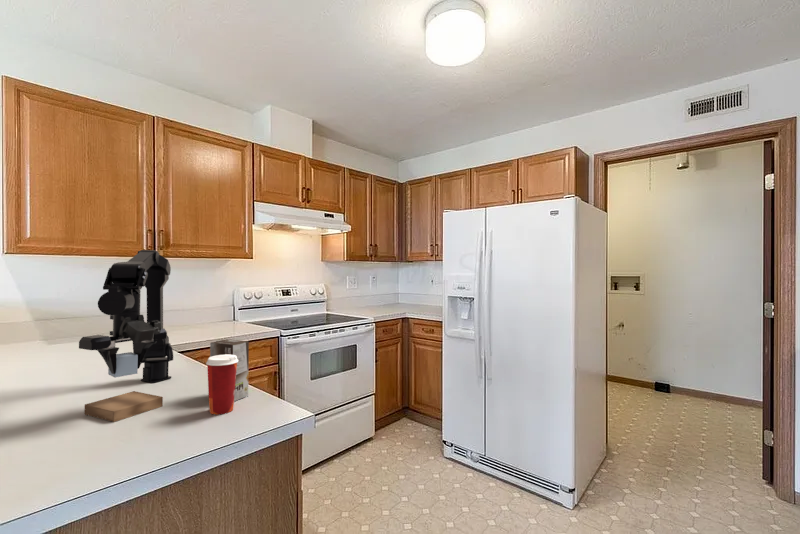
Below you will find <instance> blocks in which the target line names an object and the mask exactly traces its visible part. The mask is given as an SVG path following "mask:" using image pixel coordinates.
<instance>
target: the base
mask: <svg viewBox="0 0 800 534" xmlns="http://www.w3.org/2000/svg"><path fill="white" fill-rule="evenodd" d="M163 399H164V398H163V396H160V395H155V394H150V393H145V392H141V391H140V392H139V391H135V390H134V391H129V392H125V393H122V394H119V395H115V396H112V397H108V398H104V399H100V400H96V401H92V402H89V403H85V404H84V408H83V409H84V412H83V413H84V414H85V416H88V415H89V417H94V418H97V419H101V420H105V421H109V422H113V423H116V422H118V421H122V420H125V419H129V418H131V417H134V416H137V415H141V414H143V413H146V412H149V411H152V410H156V409H159V408H163Z"/></svg>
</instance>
